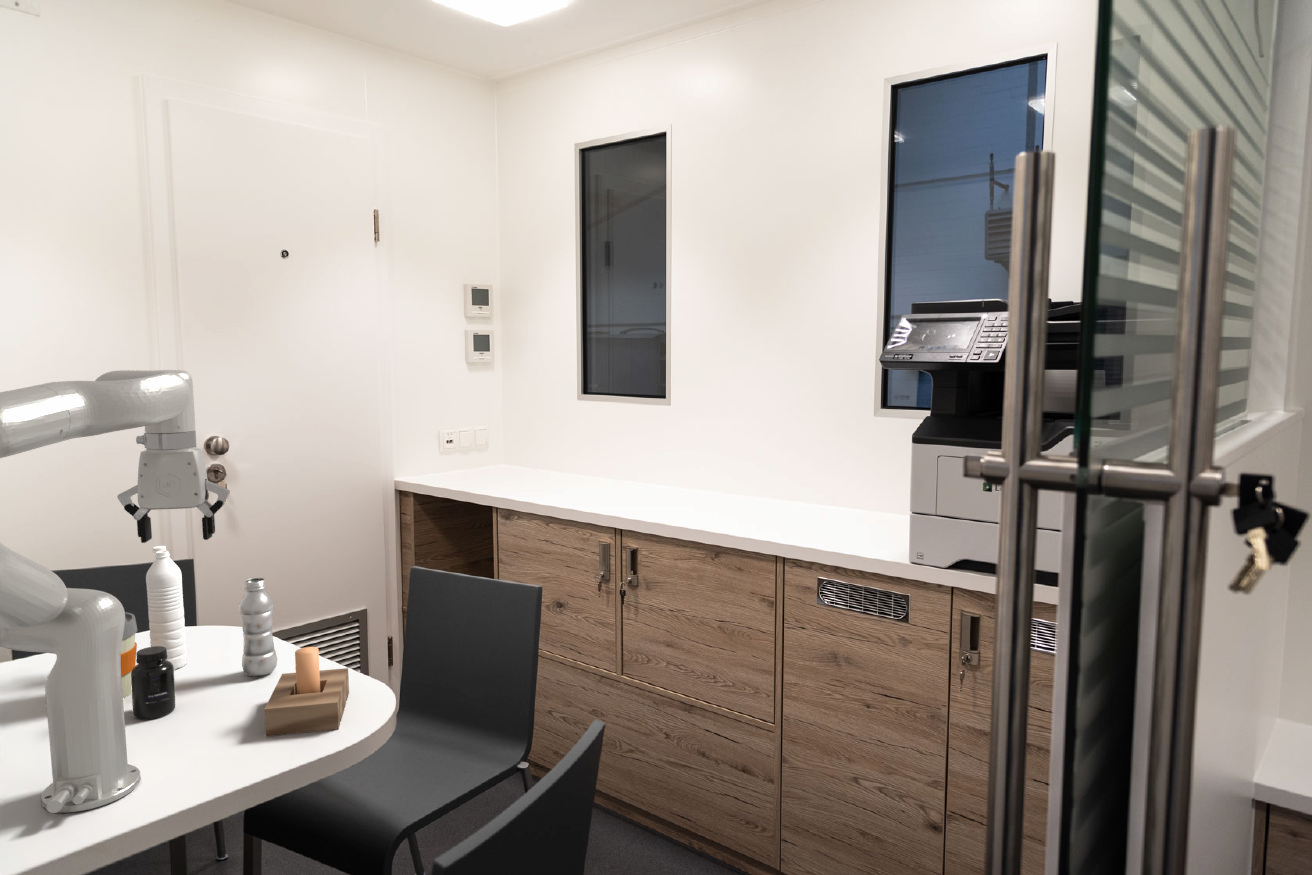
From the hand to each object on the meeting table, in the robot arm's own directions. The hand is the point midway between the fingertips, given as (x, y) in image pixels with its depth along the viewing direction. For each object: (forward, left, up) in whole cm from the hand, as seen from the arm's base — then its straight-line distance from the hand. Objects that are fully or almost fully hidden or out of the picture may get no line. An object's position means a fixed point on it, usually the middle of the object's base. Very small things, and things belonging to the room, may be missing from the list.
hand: (177, 539), depth 145 cm
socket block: (+1, -20, -34) cm, 40 cm away
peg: (+1, -20, -34) cm, 40 cm away
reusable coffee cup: (+18, +20, -34) cm, 44 cm away
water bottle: (+33, +13, -34) cm, 49 cm away
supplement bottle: (+8, +8, -34) cm, 36 cm away
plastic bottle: (+23, -7, -34) cm, 42 cm away
